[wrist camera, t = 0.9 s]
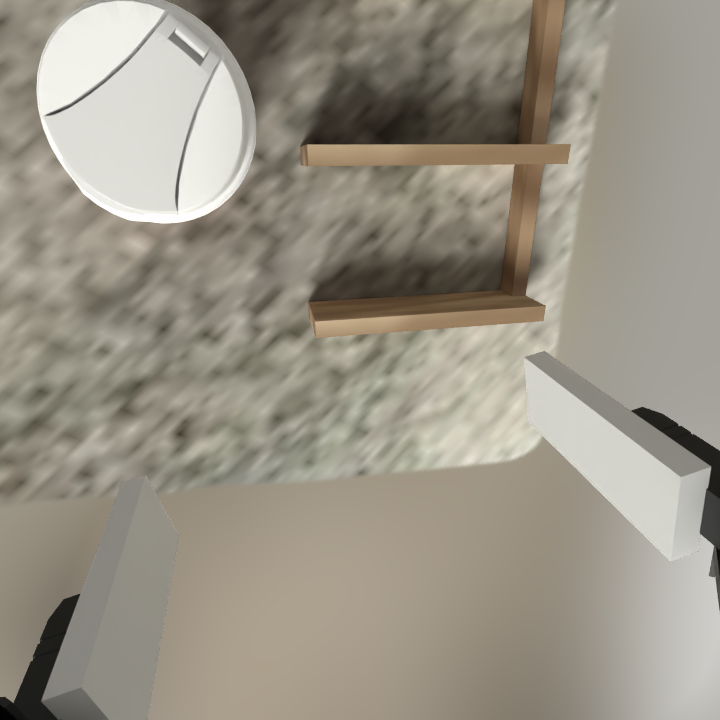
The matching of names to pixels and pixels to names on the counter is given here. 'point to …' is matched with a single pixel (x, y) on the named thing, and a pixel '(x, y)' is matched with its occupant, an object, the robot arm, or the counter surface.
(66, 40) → the coffee cup
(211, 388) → the counter surface
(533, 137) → the oak rack
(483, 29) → the counter surface
